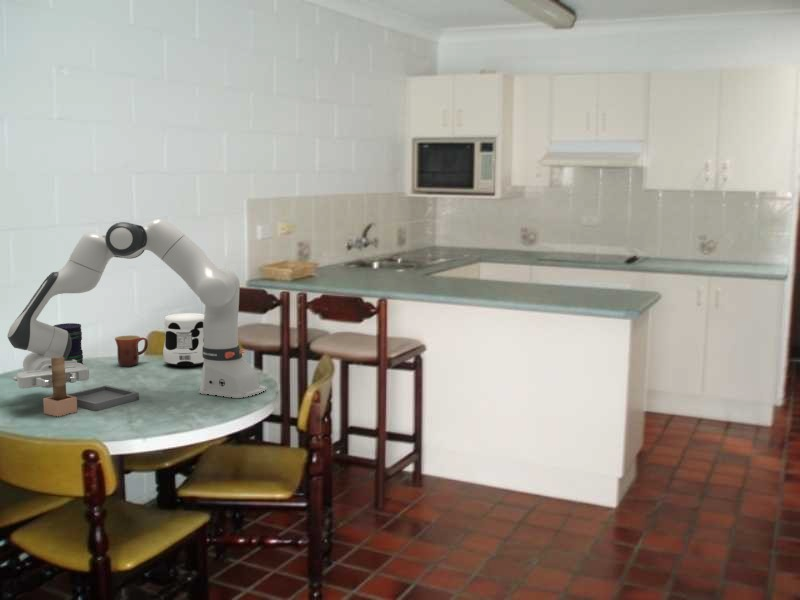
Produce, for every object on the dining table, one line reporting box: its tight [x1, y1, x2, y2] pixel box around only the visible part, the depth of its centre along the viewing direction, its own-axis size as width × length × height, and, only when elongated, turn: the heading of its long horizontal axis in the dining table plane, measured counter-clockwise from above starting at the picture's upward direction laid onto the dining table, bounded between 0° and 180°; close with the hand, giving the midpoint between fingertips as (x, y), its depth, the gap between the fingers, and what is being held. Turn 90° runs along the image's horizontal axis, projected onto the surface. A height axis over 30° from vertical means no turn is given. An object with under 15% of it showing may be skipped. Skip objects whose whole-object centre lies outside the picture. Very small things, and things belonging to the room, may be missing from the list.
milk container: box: [162, 312, 205, 367], centre depth 316 cm, size 17×17×18 cm
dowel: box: [51, 357, 67, 401], centre depth 252 cm, size 4×4×16 cm
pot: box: [42, 394, 78, 418], centre depth 253 cm, size 7×7×4 cm
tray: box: [66, 384, 140, 412], centre depth 266 cm, size 16×16×2 cm
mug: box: [114, 335, 149, 367], centre depth 316 cm, size 12×9×10 cm
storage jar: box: [53, 322, 84, 365], centre depth 312 cm, size 10×10×15 cm
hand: (59, 381), depth 251 cm, fingers open, 6 cm apart
